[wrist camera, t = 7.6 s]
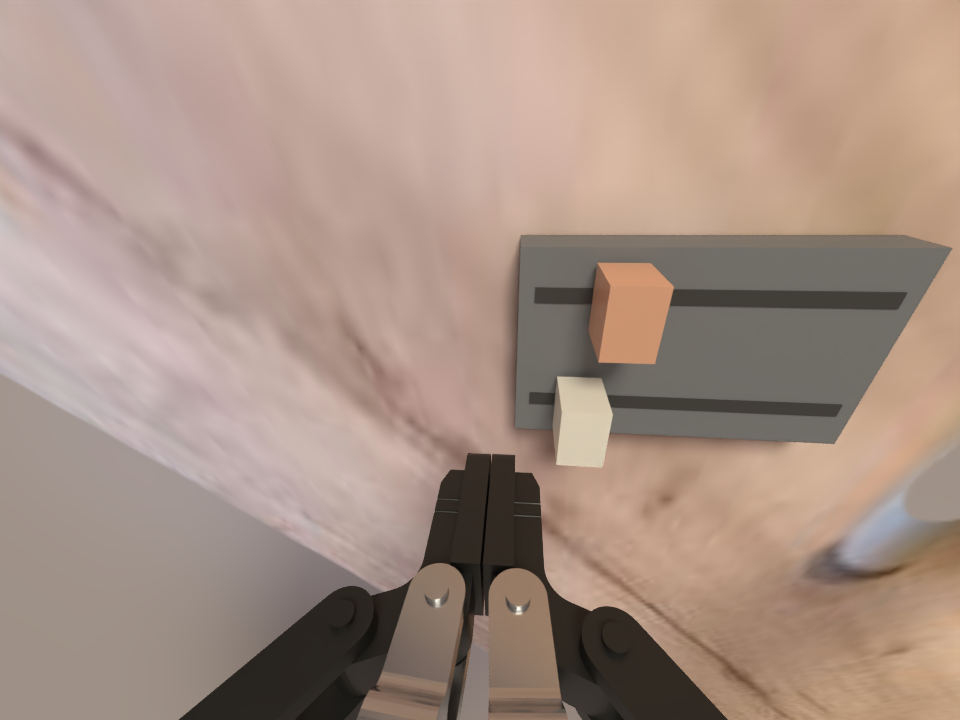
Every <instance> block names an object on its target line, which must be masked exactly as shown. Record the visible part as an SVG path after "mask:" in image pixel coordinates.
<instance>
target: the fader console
mask: <svg viewBox="0 0 960 720" xmlns="http://www.w3.org/2000/svg"><path fill="white" fill-rule="evenodd" d="M951 250H952V248H950V247H946V246H943V245H939V244H935V243H932V242H928V241H924V240H920V239H917V238H913V237H909V236H905V235H521V245H520V277H519V309H518V340H517V372H516V404H515V428H520V429H541V430H553V426H552V425H553V414H554V404H555V394H556V383H557V376H558V377H586V378H602V382H603V385H604V388H605V391H606V394H607V397H608V401H609V404H610V407H611V410H612V413H613V417H612V422H611V427H610V432H609V433H622V434H643V435H663V436H683V437H704V438H724V439H745V440H765V441H785V442H806V443H826V444H835V442H836V440H837V439H838V437H839V435H840V434H841V432H842V430H843V429H844V427H845V425H846V424H847V422H848V420H849V419H850V417H851V415H852V414H853V412H854V410H855V409H856V407H857V405H858V404H859V402H860V401H861V399H862V397H863V396H864V394H865V392H866V391H867V389H868V387H869V386H870V384H871V382H872V381H873V379H874V377H875V376H876V374H877V372H878V371H879V369H880V367H881V366H882V364H883V362H884V361H885V359H886V357H887V356H888V354H889V352H890V351H891V349H892V347H893V346H894V344H895V342H896V341H897V339H898V338H899V336H900V334H901V333H902V331H903V329H904V328H905V326H906V324H907V323H908V321H909V319H910V318H911V316H912V314H913V313H914V311H915V309H916V308H917V306H918V304H919V303H920V301H921V299H922V298H923V296H924V294H925V293H926V291H927V289H928V288H929V286H930V284H931V283H932V281H933V279H934V278H935V276H936V275H937V273H938V271H939V270H940V268H941V266H942V265H943V263H944V261H945V260H946V258H947V256H948V255H949V253H950V251H951ZM597 263H651V264H652V265H653V266H654V267H655V268H656V269H657V270H658V271H659V272H660V273H661V274H662V275H663V276H664V277H665V278H666V279H667V280H668V281H669V282H670V283H671V284H672V285H673V286H674V289H673V293H672V297H671V301H670V305H669V309H668V313H667V317H666V321H665V326H664V330H663V334H662V338H661V342H660V346H659V350H658V354H657V358H656V362H655V364H633V363H601V362H598V359H597V356H596V353H595V350H594V347H593V344H592V341H591V338H590V335H589V331H588V328H589V321H590V313H591V306H592V299H593V291H594V284H595V277H596V269H597Z"/></svg>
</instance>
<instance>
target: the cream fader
mask: <svg viewBox="0 0 960 720" xmlns="http://www.w3.org/2000/svg"><path fill="white" fill-rule="evenodd" d="M612 417H613V413H612V410H611V407H610V404H609V401H608V397H607V394H606V391H605V388H604V385H603V382H602V378H586V377H558V376H557V383H556V394H555V404H554V414H553V425H552V426H553V437H554V447H555V457H556V465H567V466H584V467H602V468H603V463H604V458H605V453H606V448H607V443H608V437H609V432H610V427H611V422H612Z"/></svg>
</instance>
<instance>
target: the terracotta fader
mask: <svg viewBox="0 0 960 720" xmlns="http://www.w3.org/2000/svg"><path fill="white" fill-rule="evenodd" d="M673 289H674V286H673V285H672V284H671V283H670V282H669V281H668V280H667V279H666V278H665V277H664V276H663V275H662V274H661V273H660V272H659V271H658V270H657V269H656V268H655V267H654V266H653V265H652V264H651V263H597V269H596V277H595V284H594V291H593V299H592V306H591V313H590V321H589V328H588V331H589V335H590V338H591V341H592V344H593V347H594V350H595V353H596V356H597V359H598V362H601V363H633V364H655V362H656V358H657V354H658V350H659V346H660V342H661V338H662V334H663V330H664V326H665V321H666V317H667V313H668V309H669V305H670V301H671V297H672V293H673Z"/></svg>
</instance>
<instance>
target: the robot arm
mask: <svg viewBox="0 0 960 720" xmlns="http://www.w3.org/2000/svg"><path fill="white" fill-rule="evenodd" d="M484 596H485V614H486V616H489V719H488V720H568V719H567V715H566V711H565V708H564V706H563V703H562V701H564V702H565V703H567V704H569V705H571V706H573V707H575V708H576V710H577V712H578V714H579V715H580V717H581V718H582V720H728V719H727V718H726V717H725V716H724V715H723V714H722V713H721V712H720V711H719V710H718V709H717V708H716V707H715V705H714V704H713V703H712V702H711V701H710V700H709V699H708V698H707V697H706V696H705V695H704V694H703V692H702V691H701V690H700V689H699V688H698V687H697V686H696V685H695V684H694V683H693V682H692V681H691V679H690V678H689V677H688V676H687V675H686V674H685V673H684V672H683V671H682V670H681V669H680V668H679V667H678V665H677V664H676V663H675V662H674V661H673V660H672V659H671V658H670V657H669V656H668V655H667V654H666V652H665V651H664V650H663V649H662V648H661V647H660V646H659V645H658V644H657V643H656V642H655V641H654V639H653V638H652V637H651V636H650V635H649V634H648V633H647V632H646V631H645V630H644V629H643V628H642V627H641V625H640V624H639V623H638V622H637V621H636V620H635V619H634V618H633V617H632V616H630V615H629V614H628V613H626V612H624V611H622V610H620V609H618V608H615V607H608V606H604V607H599V608H596V609H594V610H593V611H589V610H587V609H585V608H582V607H580V606H578V605H575V604H573V603H571V602H569V601H567V600H565V599H564V598H562V597H561V596H560V595H558V594H557V593H556V592H555V591H554V589H553V588H552V587H551V585H550V584H549V582H548V580H547V578H546V575H545V571H544V559H543V541H542V523H541V505H540V488H539V485H538V483H537V481H536V480H535V478H534V476H533V474H532V473H519V472H515V455H501V454H492V463H491V454H473V453H468V455H467V460H466V466H465V470H450V471H449V473H448V474H447V475H446V477H445V478H444V479H443V481H442V482H441V485H440V490H439V494H438V500H437V503H436V507H435V513H434V516H433V521H432V525H431V530H430V534H429V538H428V543H427V547H426V552H425V556H424V560H423V563H422V566H421V568H420V570H419V571H418V573H417V574H416V575H415V576H414V577H413V578H412V579H411V580H410V581H409V582H408V583H406V584H405V585H403V586H401V587H399V588H396V589H394V590H390V591H386V592H383V593H379V594H376V595H372V596H370V594H369V593H368V592H367V591H366V590H364V589H363V588H360V587H356V586H347V587H343V588H340V589H338V590H336V591H334V592H333V593H331V594H330V595H328V596H327V597H326V598H325V599H324V600H322V601H321V602H320V603H319V604H318V605H316V606H315V607H314V608H313V609H312V610H310V611H309V612H308V613H307V614H306V615H304V616H303V617H302V618H301V619H300V620H298V621H297V622H296V623H295V624H293V625H292V626H291V627H290V628H289V629H288V630H286V631H285V632H284V633H283V634H282V635H280V636H279V637H278V638H277V639H275V640H274V641H273V642H272V643H271V644H269V645H268V646H267V647H266V648H265V649H263V650H262V651H261V652H260V653H259V654H257V655H256V656H255V657H254V658H253V659H251V660H250V661H249V662H248V663H247V664H245V665H244V666H243V667H242V668H241V669H239V670H238V671H237V672H236V673H234V674H233V675H232V676H231V677H230V678H228V679H227V680H226V681H225V682H224V683H223V684H221V685H220V686H219V687H218V688H216V689H215V690H214V691H213V692H212V693H210V694H209V695H208V696H207V697H206V698H205V699H203V700H202V701H201V702H200V703H198V704H197V705H196V706H195V707H194V708H192V709H191V710H190V711H189V712H188V713H186V714H185V715H184V716H183V717H181V718H180V719H179V720H459V719H460V712H461V707H462V700H463V694H464V688H465V682H466V675H467V669H468V663H469V657H470V649H471V643H472V636H473V626H474V615H483V610H484Z"/></svg>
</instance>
